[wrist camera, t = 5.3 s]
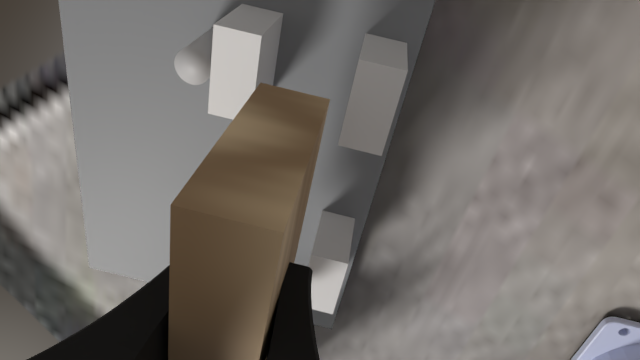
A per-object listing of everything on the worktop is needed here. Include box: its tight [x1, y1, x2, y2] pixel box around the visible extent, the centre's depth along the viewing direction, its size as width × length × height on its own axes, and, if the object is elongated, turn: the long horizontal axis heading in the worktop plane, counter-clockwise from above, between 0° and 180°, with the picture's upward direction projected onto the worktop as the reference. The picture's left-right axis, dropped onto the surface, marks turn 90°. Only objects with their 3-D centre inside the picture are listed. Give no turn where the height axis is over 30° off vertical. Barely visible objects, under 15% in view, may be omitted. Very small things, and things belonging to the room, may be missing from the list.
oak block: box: [168, 83, 330, 360], centre depth 13 cm, size 2×10×6 cm, turn 169°
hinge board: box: [59, 0, 435, 329], centre depth 19 cm, size 14×20×4 cm
